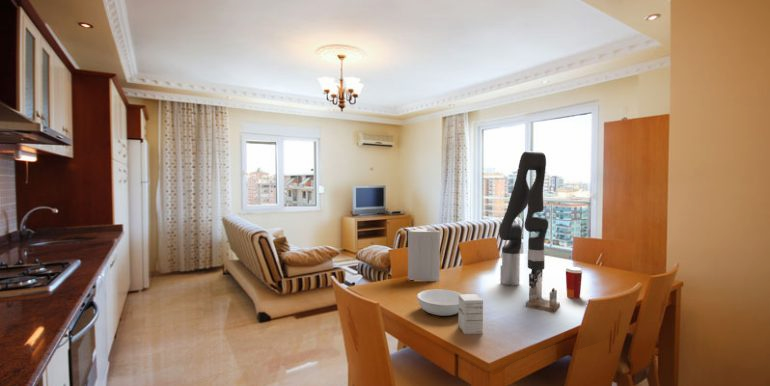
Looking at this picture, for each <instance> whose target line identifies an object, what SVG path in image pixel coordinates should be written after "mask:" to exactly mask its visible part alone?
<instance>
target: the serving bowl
mask: <svg viewBox="0 0 770 386" xmlns="http://www.w3.org/2000/svg"><path fill="white" fill-rule="evenodd" d="M459 295H463V294H462V293H460V292H458V291H454V290H450V289H449V290H448V289H439V288H437V289H426V290H423V291H420V292H419V293H417V301H418V305H419V306H420V308H421V309H422V310H423V311H425V312H427V313H428V314H432V315H436V316H442V317H445V316H447V317H449V316H452V315H453V316H454V315H457V314H459Z"/></svg>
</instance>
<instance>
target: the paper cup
mask: <svg viewBox="0 0 770 386" xmlns="http://www.w3.org/2000/svg"><path fill="white" fill-rule="evenodd" d="M564 272H565V283H566V284H565V285H566V288H565V289H566V297H567V298H570V299H573V300H576V299H577V300H578V299H580V297H581V289H582V288H581V287H582V275H583V272H584V271H583V269H582V268H581V267H576V266H575V267H574V266H567V267H565V269H564Z"/></svg>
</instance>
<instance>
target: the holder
mask: <svg viewBox="0 0 770 386" xmlns="http://www.w3.org/2000/svg"><path fill="white" fill-rule="evenodd" d="M536 289H537V287H536V286H534V285H532V287H531V288H530V289H529V288H528V291H529V292H528V300H527V301H526V302H525V307H528V308H534V309H538V310H542V311H548V312H553V313H555V312H556V311H557V309H559V307H560V306H561V303H560V301H557V300H558V299H557V298H558V297H557V294H558V292H557V291H558V290H557V289H555V287H553V288H552V289H551V291H550V292H549V300H548V299H539V298H536Z"/></svg>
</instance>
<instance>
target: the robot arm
mask: <svg viewBox="0 0 770 386" xmlns="http://www.w3.org/2000/svg"><path fill="white" fill-rule="evenodd" d="M546 167H547V158H546V154H545V153H544V152H541V151H531V150H529V151H528V150H525V151H524V152H523V153H522V154H521V156H520V158H519V163H518V167H517V168H518V169H517V172H516V178H515V181H514V185H513V188H512V191H511V193H510V196H509V201H508V204H507V208H506V210H505V213H504V216H503V218H502V220H501V222H500V223H501V224H500V225H499V229H498V236H499V238H500V240H502V241H509V242H508V243H507V244H505V245H503V246H502V247H501V265H500V279H499V281H500V284H503V285H505V286H512V287H513V286H514V287H515V286H519V285H520V275H521V271H520V270H521V269H520V265H521V264H520V261H521V260H520V259H521V258H520V257H521V248H522V239H523V238H522V237H523V230H522V227H521V224H519V223H517V222H515V219H517V217H518V216H520V215H521V214H522V213H523V212H524V211H525V210H526V208H527V211H526V217H525V220H524V225H523V226H524V229H525V230H526V232H529V233H538V234H537V235H534V236H533V235H532V236H530V237H528V247H527V248H528V250H527V268H528V269H529V270H531V271H530V273H528V286H530V287H532V285H534V286H536V285H537V283H538V279H539V277H542V278H543V270H544V269H545V267H546V265H545V264H546V263H545V256H546V255H545V240H546V239H545V238H546V235H547V232H548V229H549V221H548V219H547V218H546V217H544V216H543V217H541V216H540V217H537V216H536V217H534V214H539V213H542V212H543V211H544V186H545V185H544V184H545V177H546ZM529 171H535V177H534V178H535V179H534V181H533V183H532V185H531V186H530V187H529V184H528V181H527V176H528V172H529ZM535 279H537V280H535ZM532 283H533V284H532Z"/></svg>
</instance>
